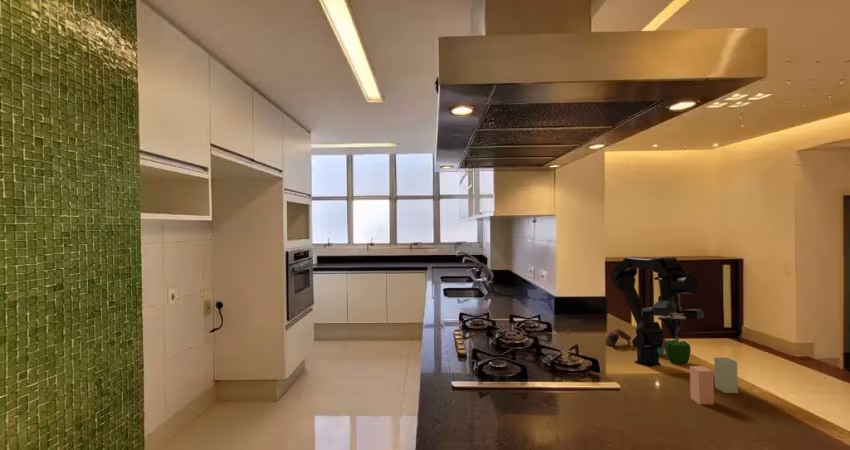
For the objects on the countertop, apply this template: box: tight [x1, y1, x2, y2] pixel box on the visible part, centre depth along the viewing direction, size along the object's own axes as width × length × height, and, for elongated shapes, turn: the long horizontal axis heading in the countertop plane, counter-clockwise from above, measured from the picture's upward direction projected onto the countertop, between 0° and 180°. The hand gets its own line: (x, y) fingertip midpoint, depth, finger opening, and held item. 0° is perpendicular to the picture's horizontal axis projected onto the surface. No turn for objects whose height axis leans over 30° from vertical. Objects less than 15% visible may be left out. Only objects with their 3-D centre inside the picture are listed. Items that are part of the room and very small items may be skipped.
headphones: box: [605, 327, 632, 348], centre depth 184 cm, size 12×10×8 cm
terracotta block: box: [689, 365, 715, 405], centre depth 123 cm, size 4×4×10 cm
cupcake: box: [657, 338, 667, 356], centre depth 172 cm, size 9×8×12 cm
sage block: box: [713, 357, 739, 394], centre depth 132 cm, size 4×4×10 cm
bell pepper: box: [664, 336, 692, 365], centre depth 160 cm, size 8×8×10 cm
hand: (674, 338), depth 146 cm, fingers closed
